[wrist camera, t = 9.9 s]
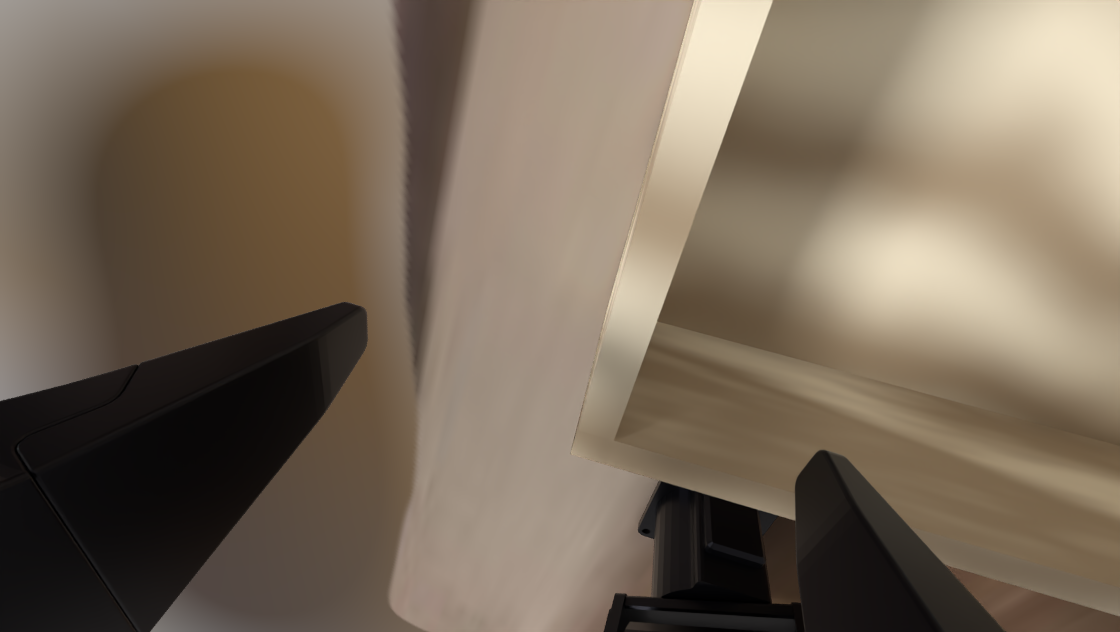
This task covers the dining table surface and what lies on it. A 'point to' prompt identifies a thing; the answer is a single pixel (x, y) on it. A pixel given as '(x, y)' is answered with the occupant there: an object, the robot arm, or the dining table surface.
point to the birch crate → (885, 275)
